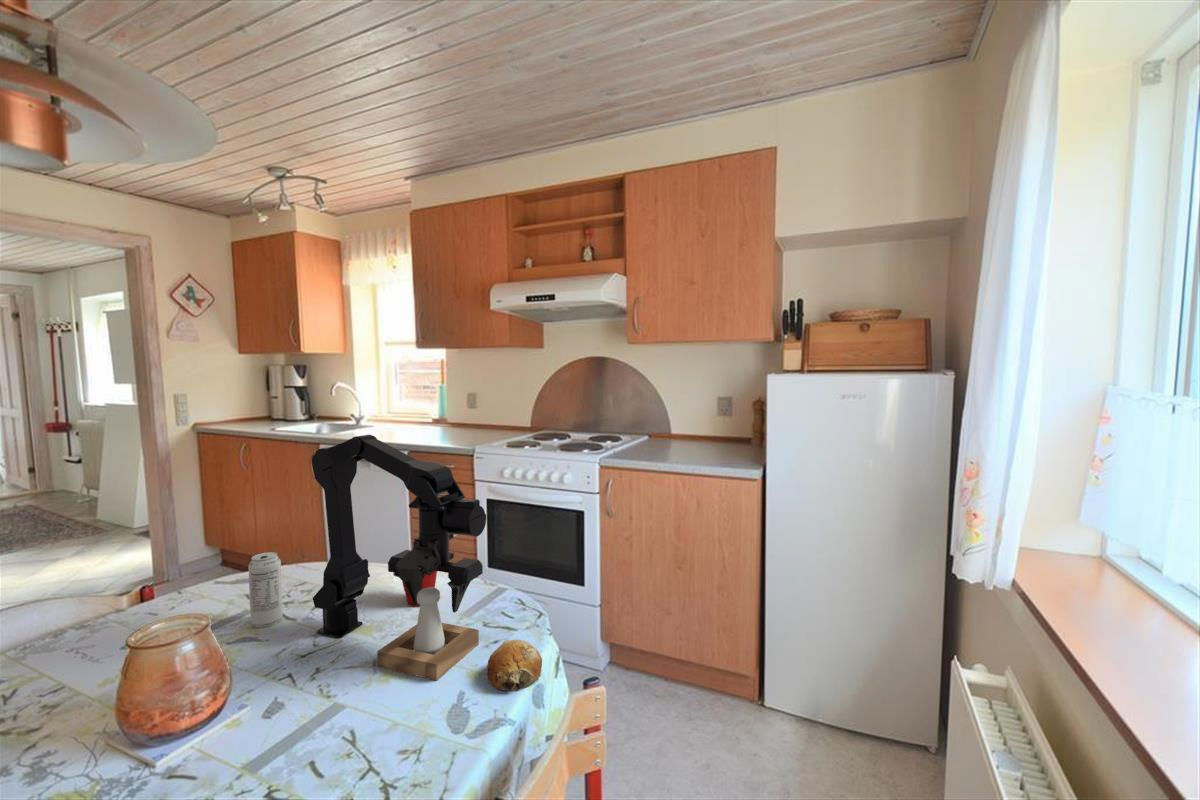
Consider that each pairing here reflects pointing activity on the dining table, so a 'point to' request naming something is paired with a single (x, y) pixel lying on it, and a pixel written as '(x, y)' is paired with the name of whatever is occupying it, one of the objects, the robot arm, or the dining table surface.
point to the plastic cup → (426, 583)
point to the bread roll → (514, 665)
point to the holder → (423, 664)
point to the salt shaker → (429, 622)
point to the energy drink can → (265, 589)
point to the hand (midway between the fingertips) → (435, 608)
